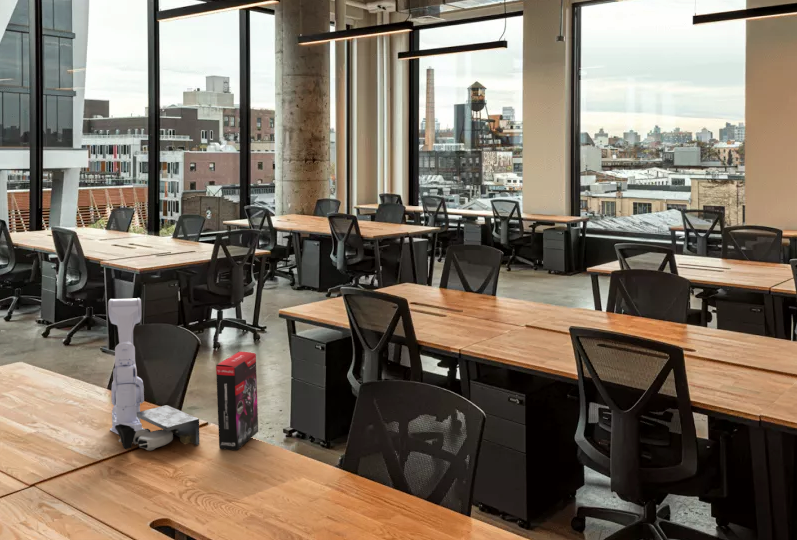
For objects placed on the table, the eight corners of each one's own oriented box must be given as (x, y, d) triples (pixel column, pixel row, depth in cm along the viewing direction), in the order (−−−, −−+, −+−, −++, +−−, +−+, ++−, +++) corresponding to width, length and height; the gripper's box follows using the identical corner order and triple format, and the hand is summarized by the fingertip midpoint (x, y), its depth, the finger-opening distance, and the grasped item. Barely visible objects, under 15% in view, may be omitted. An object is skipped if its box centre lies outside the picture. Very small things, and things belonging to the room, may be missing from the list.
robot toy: (116, 449, 232) (150, 456, 225) (114, 435, 231) (149, 441, 224) (147, 437, 243) (180, 443, 235) (145, 424, 242) (179, 429, 235)
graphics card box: (237, 452, 229) (236, 365, 226) (216, 450, 231) (215, 363, 227) (258, 432, 246) (258, 352, 242) (238, 431, 247) (238, 350, 244)
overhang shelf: (136, 437, 240) (135, 412, 239) (167, 429, 248) (166, 405, 247) (168, 453, 227) (167, 427, 226) (199, 443, 235) (199, 418, 234)
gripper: (101, 401, 228) (103, 444, 229) (125, 413, 218) (126, 457, 220) (123, 396, 233) (125, 438, 235) (147, 407, 223) (149, 451, 225)
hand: (127, 447), depth 228 cm, fingers closed
